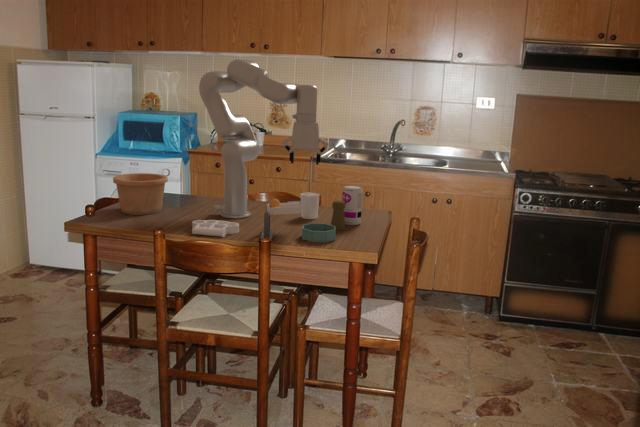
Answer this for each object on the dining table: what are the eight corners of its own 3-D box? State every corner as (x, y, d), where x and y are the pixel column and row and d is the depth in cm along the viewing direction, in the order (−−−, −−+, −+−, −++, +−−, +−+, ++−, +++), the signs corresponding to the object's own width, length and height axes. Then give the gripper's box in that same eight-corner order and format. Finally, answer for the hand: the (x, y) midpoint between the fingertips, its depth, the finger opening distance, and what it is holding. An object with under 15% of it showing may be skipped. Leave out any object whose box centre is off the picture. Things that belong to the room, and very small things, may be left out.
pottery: (174, 206, 259) (173, 174, 256) (159, 217, 238) (158, 182, 234) (125, 204, 260) (124, 172, 256) (106, 215, 238) (104, 180, 235)
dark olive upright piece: (329, 226, 234) (330, 199, 232) (344, 226, 235) (345, 199, 232) (330, 230, 228) (332, 202, 226) (346, 230, 229) (347, 202, 226)
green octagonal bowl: (302, 241, 210) (302, 231, 209) (302, 233, 222) (302, 222, 221) (336, 242, 211) (336, 231, 210) (334, 233, 223) (334, 223, 222)
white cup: (316, 220, 243) (317, 196, 241) (298, 218, 244) (298, 195, 242) (320, 216, 250) (321, 193, 248) (302, 214, 252) (303, 191, 250)
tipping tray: (266, 215, 210) (266, 208, 209) (269, 204, 227) (269, 198, 227) (300, 213, 210) (300, 206, 209) (300, 203, 228) (300, 196, 227)
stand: (260, 241, 209) (260, 214, 207) (262, 231, 222) (263, 205, 220) (271, 241, 209) (271, 214, 207) (273, 231, 223) (273, 205, 220)
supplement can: (347, 226, 235) (349, 189, 232) (337, 221, 242) (339, 185, 239) (364, 224, 239) (366, 188, 235) (354, 220, 246) (356, 184, 242)
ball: (269, 211, 212) (268, 200, 211) (269, 208, 215) (268, 198, 214) (280, 210, 212) (279, 199, 211) (280, 207, 215) (279, 197, 215)
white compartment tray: (183, 235, 214) (198, 226, 228) (231, 239, 211) (243, 229, 226) (183, 226, 213) (198, 217, 228) (231, 230, 211) (243, 221, 225)
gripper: (282, 118, 218) (281, 163, 221) (328, 120, 216) (326, 166, 220) (284, 116, 225) (283, 161, 229) (329, 118, 224) (328, 163, 227)
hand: (304, 163), depth 224 cm, fingers open, 9 cm apart
